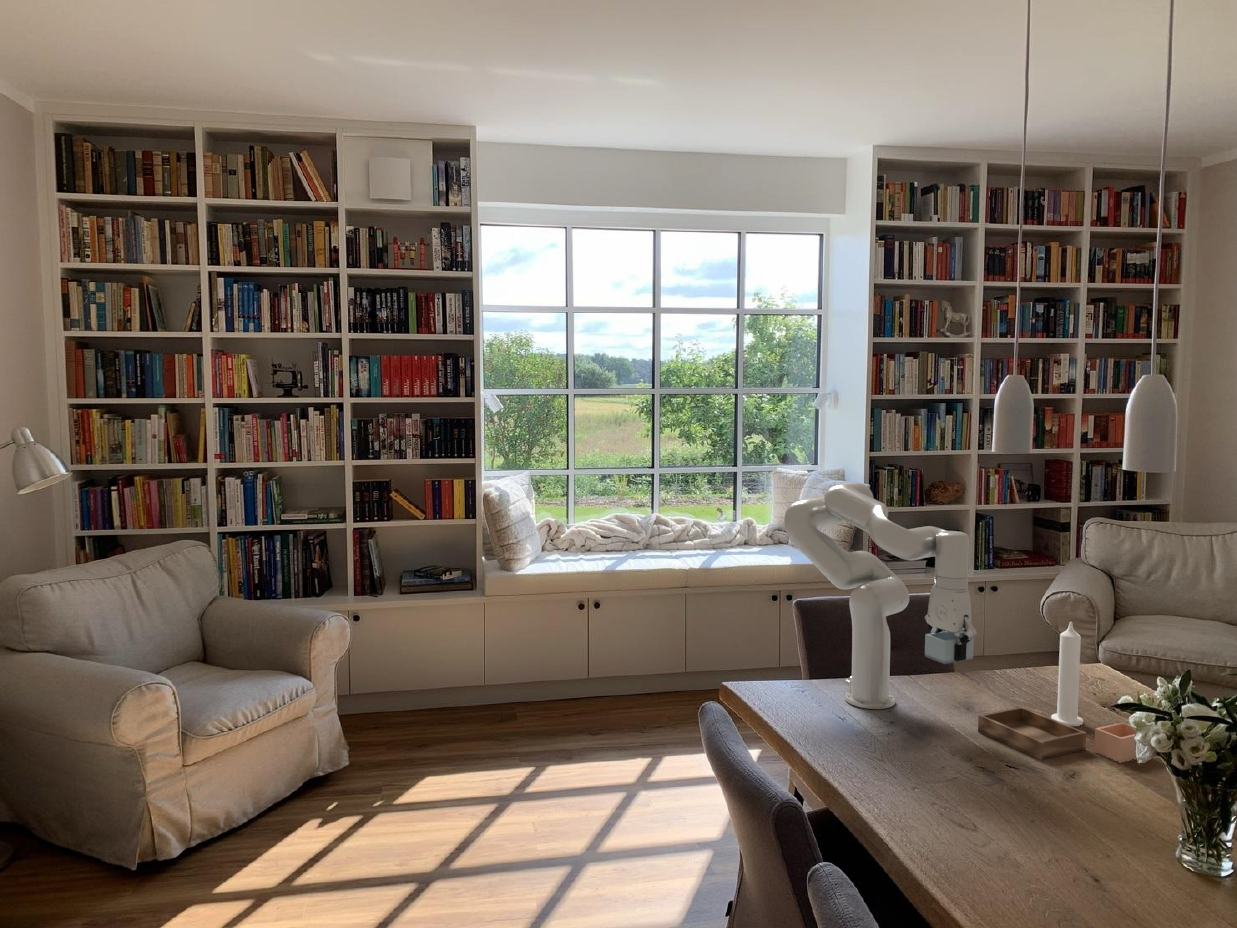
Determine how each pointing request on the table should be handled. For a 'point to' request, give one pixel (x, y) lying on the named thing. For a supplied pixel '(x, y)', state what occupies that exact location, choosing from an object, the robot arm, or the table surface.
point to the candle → (1068, 678)
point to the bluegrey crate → (945, 647)
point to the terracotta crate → (1115, 742)
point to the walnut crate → (1032, 732)
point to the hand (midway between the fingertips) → (948, 655)
